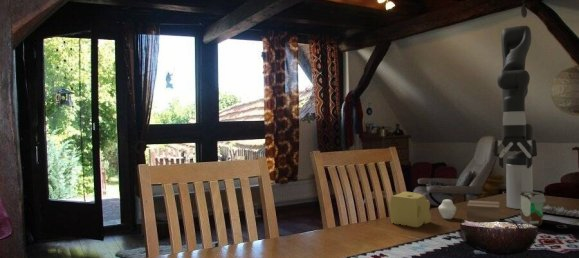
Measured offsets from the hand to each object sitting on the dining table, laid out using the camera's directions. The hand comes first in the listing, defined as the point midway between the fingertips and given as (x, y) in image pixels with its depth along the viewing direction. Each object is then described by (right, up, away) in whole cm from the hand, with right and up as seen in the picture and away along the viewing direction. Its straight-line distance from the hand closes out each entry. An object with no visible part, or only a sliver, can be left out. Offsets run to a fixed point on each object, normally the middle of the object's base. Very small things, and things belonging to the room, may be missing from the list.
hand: (514, 168), depth 162 cm
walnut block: (-15, -18, -8) cm, 25 cm away
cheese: (-41, -19, -9) cm, 46 cm away
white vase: (-26, -18, -3) cm, 32 cm away
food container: (+1, -18, -12) cm, 22 cm away
